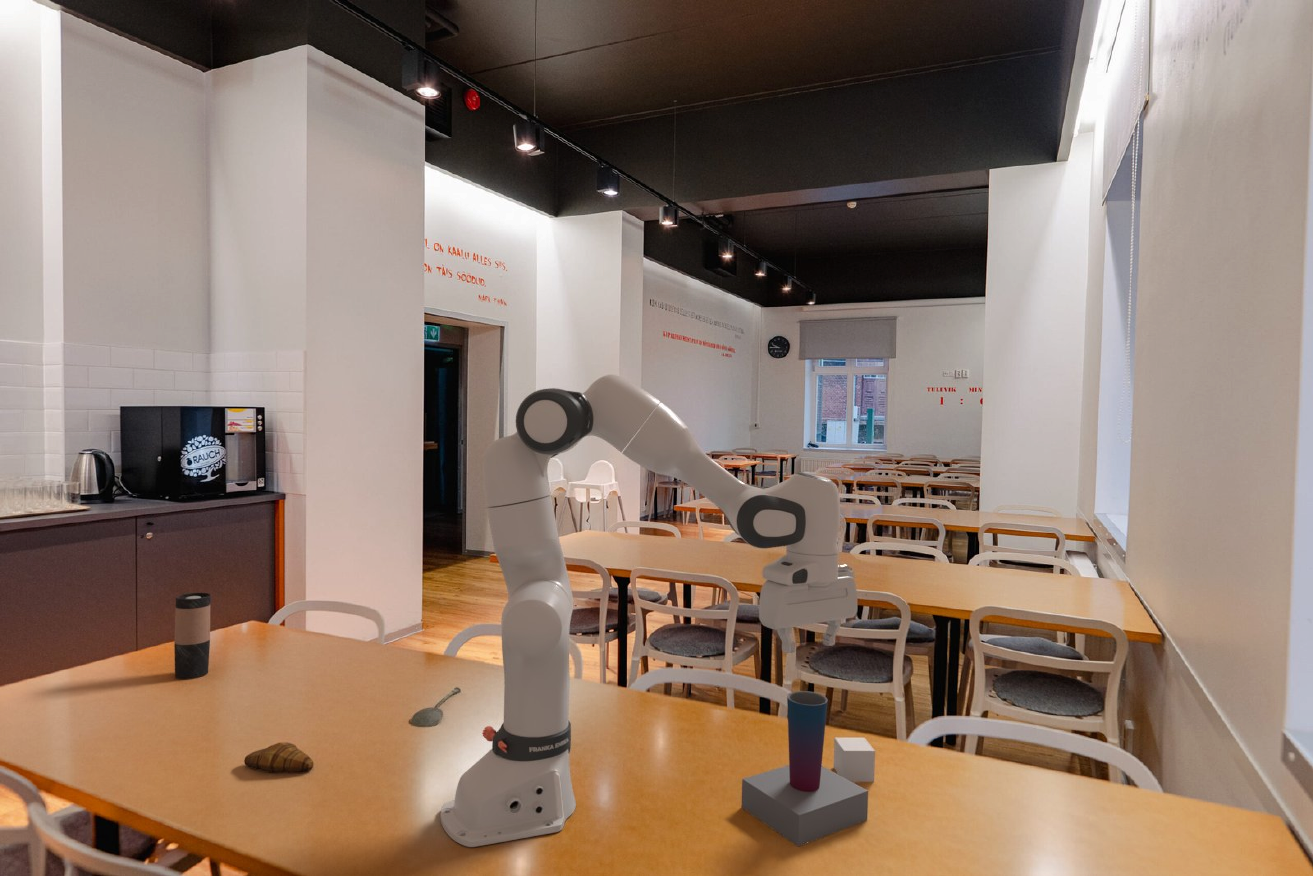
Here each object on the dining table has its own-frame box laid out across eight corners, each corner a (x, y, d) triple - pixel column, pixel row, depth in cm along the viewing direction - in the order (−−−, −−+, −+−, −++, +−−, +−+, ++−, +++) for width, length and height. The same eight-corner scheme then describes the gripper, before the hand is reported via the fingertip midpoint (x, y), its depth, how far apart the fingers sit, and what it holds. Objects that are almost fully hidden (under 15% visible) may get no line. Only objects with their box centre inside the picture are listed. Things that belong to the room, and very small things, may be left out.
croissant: (323, 764, 141) (323, 738, 141) (301, 781, 134) (301, 753, 134) (258, 757, 143) (258, 732, 143) (233, 774, 136) (233, 746, 136)
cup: (825, 796, 123) (828, 707, 123) (784, 791, 124) (787, 703, 124) (824, 778, 130) (826, 692, 130) (784, 773, 131) (787, 689, 131)
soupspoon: (405, 731, 159) (434, 735, 158) (406, 716, 159) (435, 719, 158) (444, 692, 181) (470, 695, 180) (445, 678, 181) (471, 681, 180)
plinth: (798, 846, 117) (799, 815, 117) (741, 807, 129) (742, 779, 129) (867, 820, 126) (868, 790, 126) (808, 785, 137) (809, 758, 137)
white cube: (863, 768, 146) (864, 737, 146) (874, 782, 140) (875, 750, 140) (833, 767, 145) (834, 737, 145) (842, 782, 139) (844, 750, 139)
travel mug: (215, 673, 188) (217, 595, 188) (183, 682, 182) (184, 600, 182) (199, 668, 192) (201, 591, 192) (167, 675, 186) (169, 596, 186)
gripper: (840, 560, 135) (837, 636, 135) (754, 569, 124) (751, 651, 124) (867, 566, 130) (864, 645, 130) (780, 576, 119) (777, 662, 119)
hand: (808, 648), depth 127 cm, fingers open, 8 cm apart
